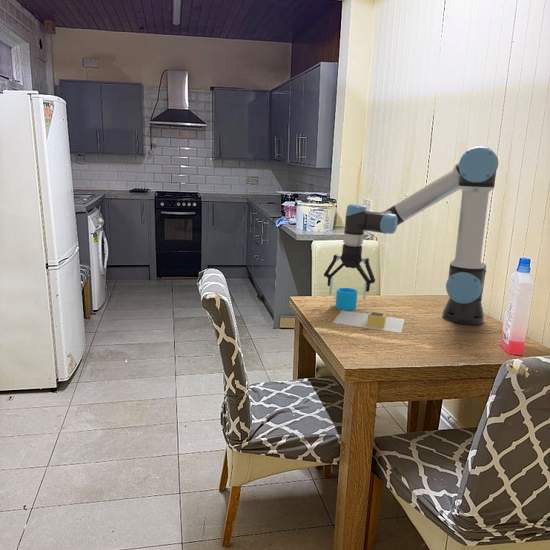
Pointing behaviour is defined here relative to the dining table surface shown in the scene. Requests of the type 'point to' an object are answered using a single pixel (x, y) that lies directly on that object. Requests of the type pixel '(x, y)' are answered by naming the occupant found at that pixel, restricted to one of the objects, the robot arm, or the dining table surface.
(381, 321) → the block
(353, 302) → the mug
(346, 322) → the drywall panel
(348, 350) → the dining table surface
